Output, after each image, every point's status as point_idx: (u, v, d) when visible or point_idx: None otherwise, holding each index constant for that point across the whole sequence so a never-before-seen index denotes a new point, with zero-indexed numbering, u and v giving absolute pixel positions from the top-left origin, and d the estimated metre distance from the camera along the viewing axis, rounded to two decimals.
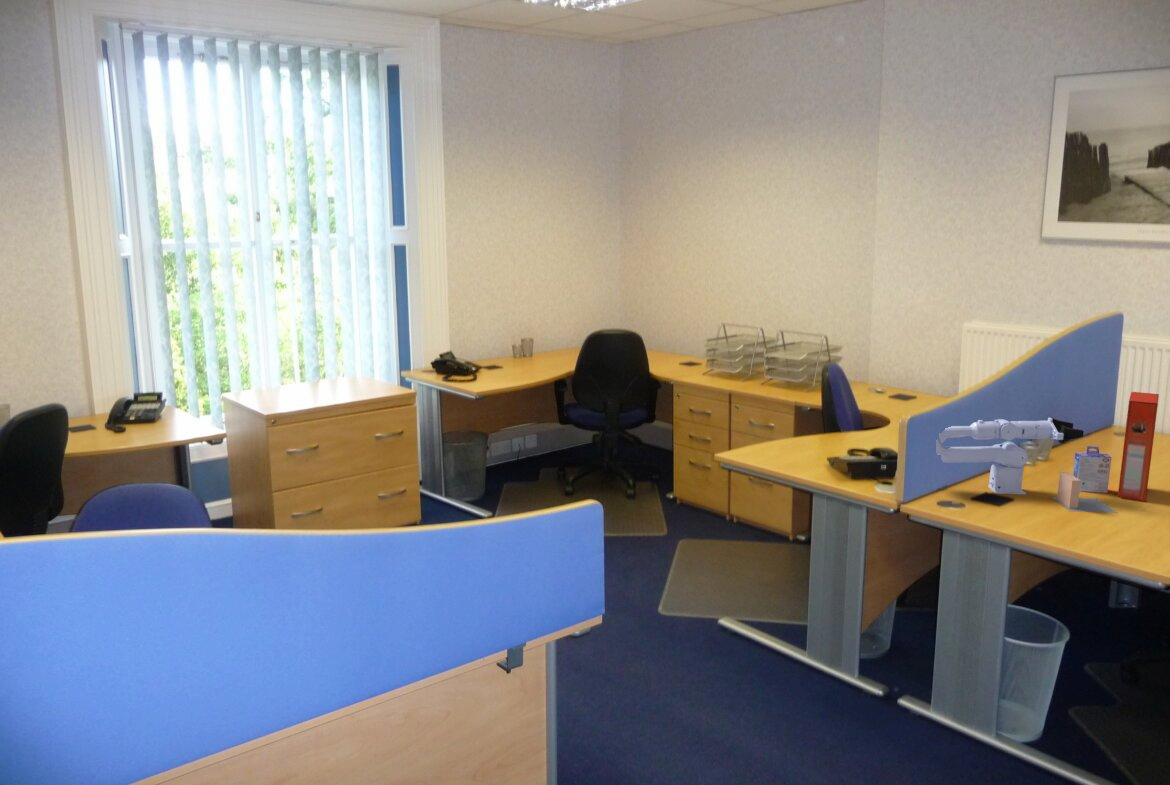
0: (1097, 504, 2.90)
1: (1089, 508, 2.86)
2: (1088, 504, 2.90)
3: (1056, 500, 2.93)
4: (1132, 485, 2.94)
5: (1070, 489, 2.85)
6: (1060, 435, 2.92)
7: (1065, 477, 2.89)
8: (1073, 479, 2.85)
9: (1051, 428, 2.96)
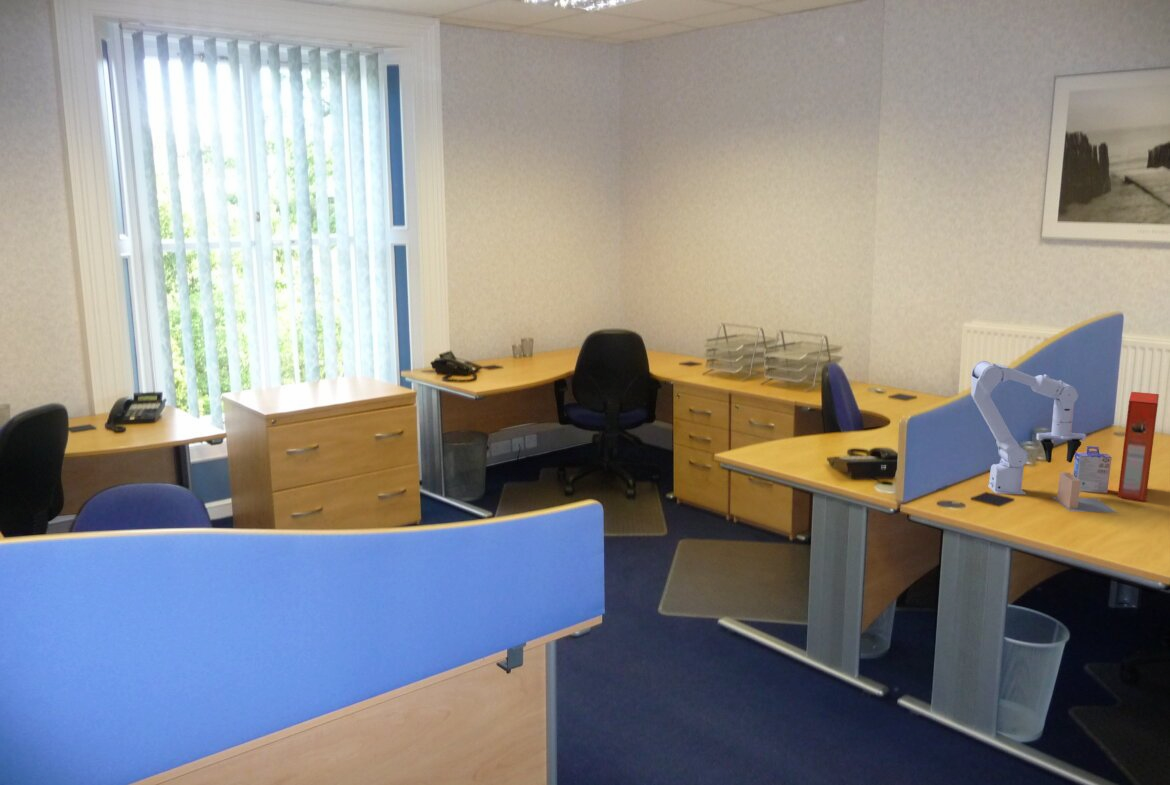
0: (1097, 504, 2.90)
1: (1089, 508, 2.86)
2: (1088, 504, 2.90)
3: (1056, 500, 2.93)
4: (1132, 485, 2.94)
5: (1070, 489, 2.85)
6: (1038, 437, 2.99)
7: (1065, 477, 2.89)
8: (1073, 479, 2.85)
9: (1054, 434, 2.98)
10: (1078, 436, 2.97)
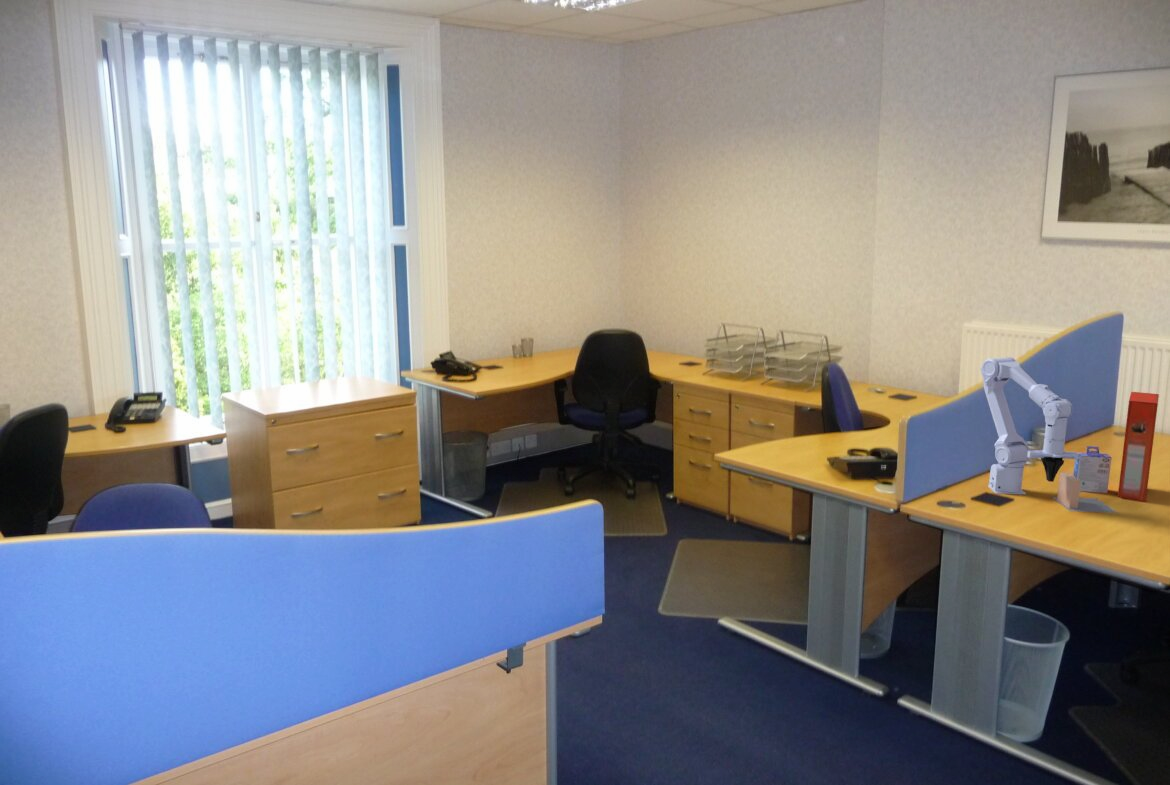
0: (1097, 504, 2.90)
1: (1089, 508, 2.86)
2: (1088, 504, 2.90)
3: (1056, 500, 2.93)
4: (1132, 485, 2.94)
5: (1070, 489, 2.85)
6: (1029, 454, 2.87)
7: (1065, 477, 2.89)
8: (1073, 479, 2.85)
9: (1046, 452, 2.86)
10: (1071, 455, 2.85)
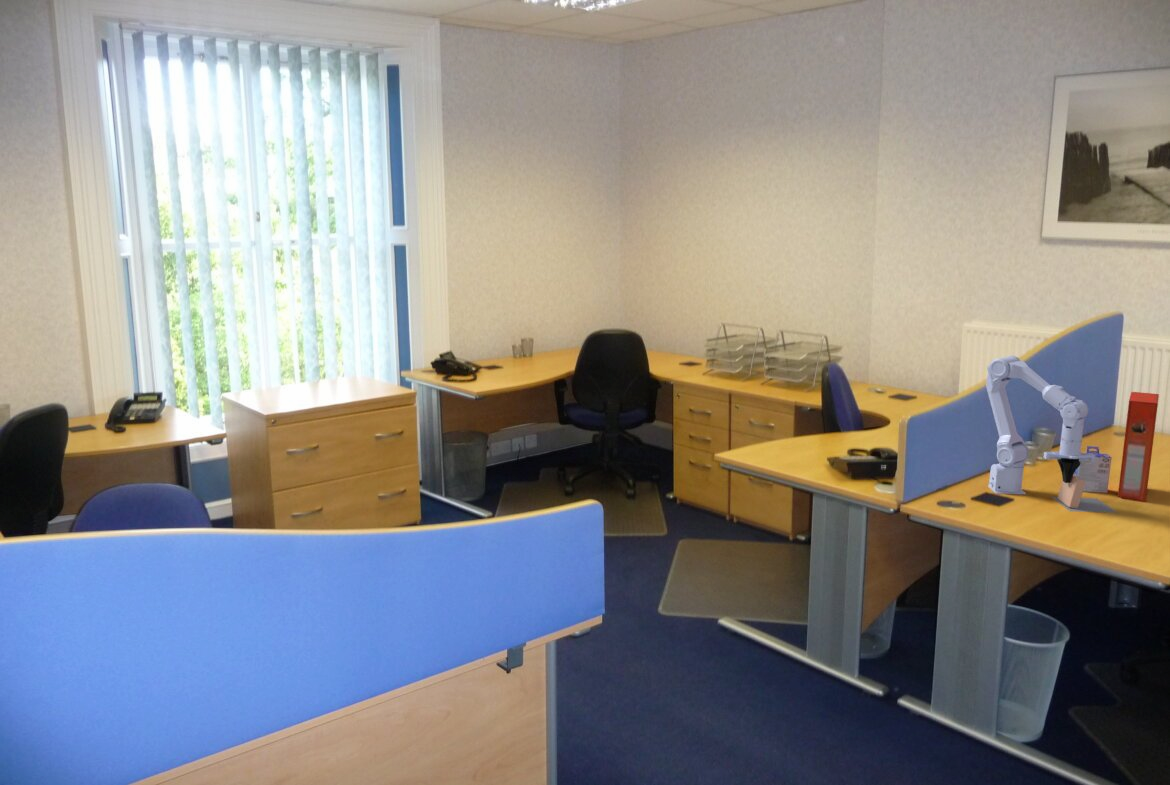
0: (1097, 504, 2.90)
1: (1089, 508, 2.86)
2: (1088, 504, 2.90)
3: (1056, 500, 2.93)
4: (1132, 485, 2.94)
5: (1073, 488, 2.85)
6: (1045, 456, 2.87)
7: None
8: (1078, 479, 2.85)
9: (1062, 454, 2.86)
10: (1087, 456, 2.85)
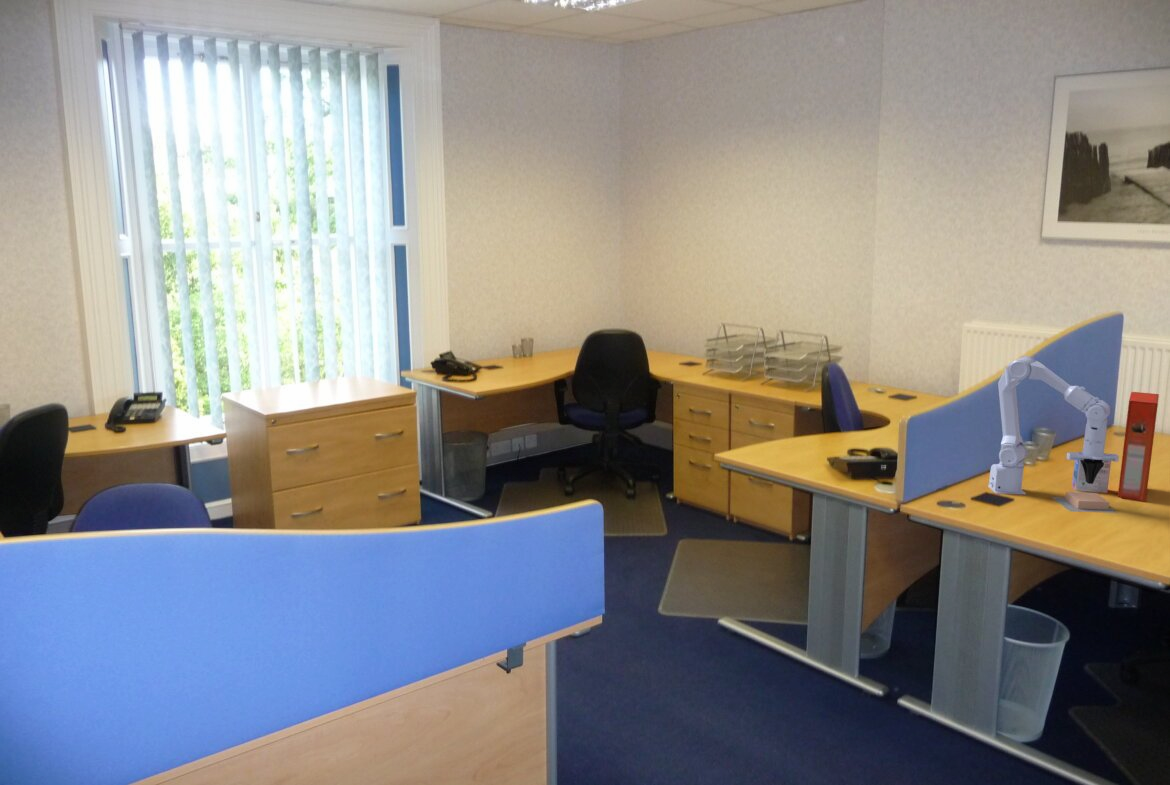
0: None
1: None
2: None
3: (1056, 500, 2.93)
4: (1132, 485, 2.94)
5: (1097, 500, 2.85)
6: (1068, 456, 2.86)
7: (1100, 496, 2.89)
8: None
9: (1086, 454, 2.85)
10: (1111, 457, 2.84)
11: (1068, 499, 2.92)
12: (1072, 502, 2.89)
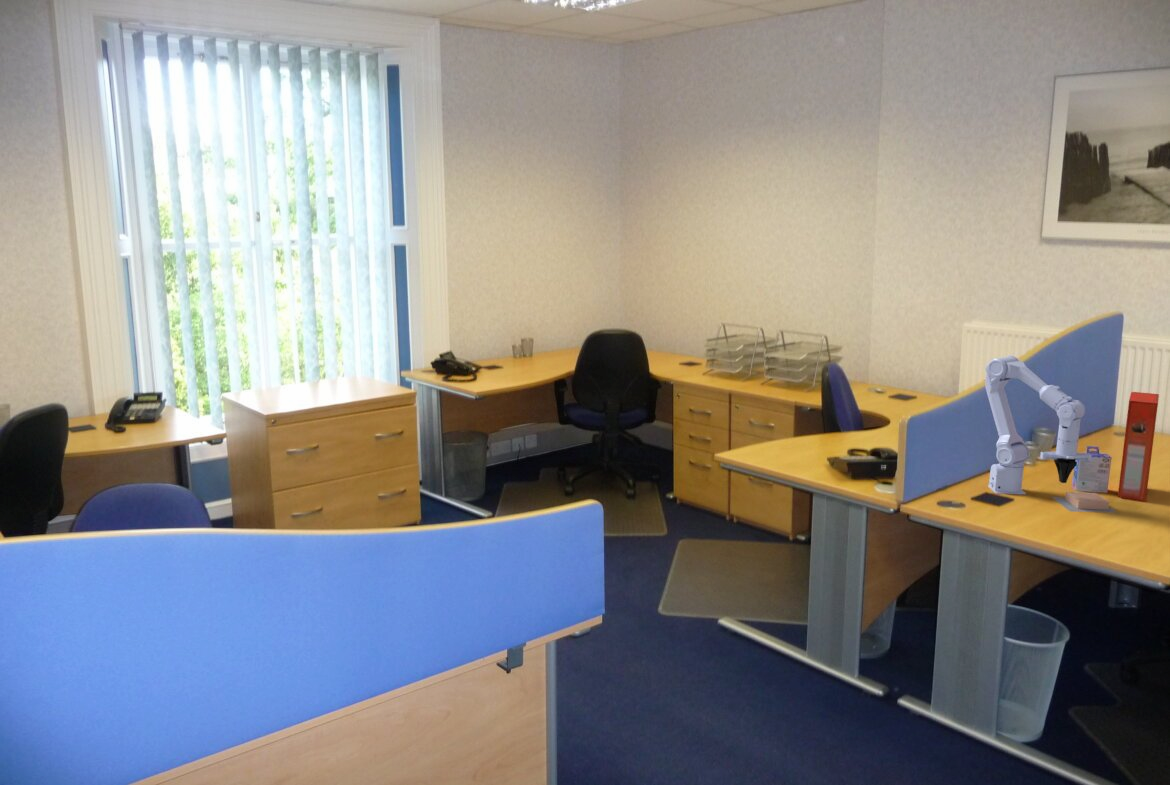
0: None
1: None
2: None
3: (1056, 500, 2.93)
4: (1132, 485, 2.94)
5: (1097, 500, 2.85)
6: (1042, 456, 2.87)
7: (1100, 496, 2.89)
8: None
9: (1059, 454, 2.86)
10: (1084, 456, 2.85)
11: (1068, 499, 2.92)
12: (1072, 502, 2.89)
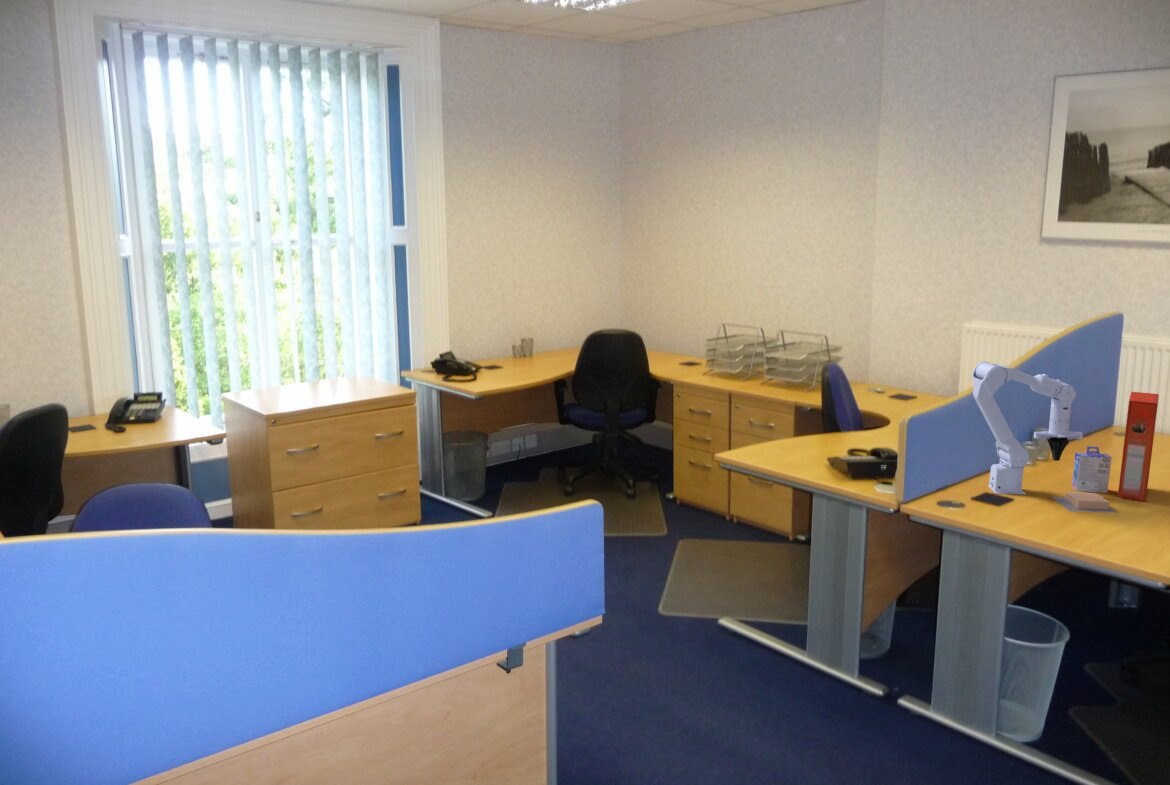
0: None
1: None
2: None
3: (1056, 500, 2.93)
4: (1132, 485, 2.94)
5: (1097, 500, 2.85)
6: (1035, 435, 3.01)
7: (1100, 496, 2.89)
8: None
9: (1051, 433, 3.00)
10: (1075, 434, 2.99)
11: (1068, 499, 2.92)
12: (1072, 502, 2.89)
